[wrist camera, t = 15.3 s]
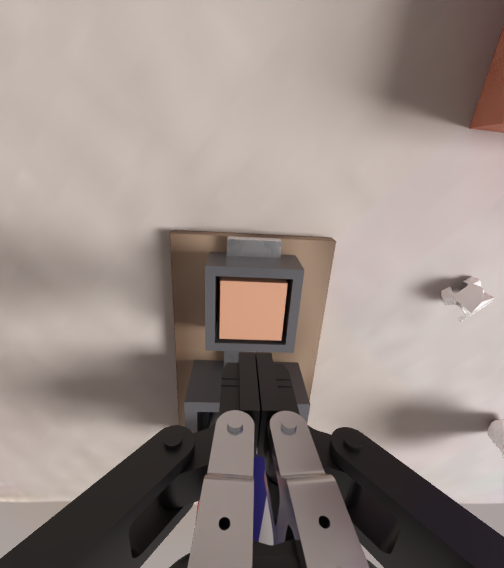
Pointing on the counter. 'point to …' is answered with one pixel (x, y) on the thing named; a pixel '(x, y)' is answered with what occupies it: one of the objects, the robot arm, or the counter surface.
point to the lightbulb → (497, 434)
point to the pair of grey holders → (209, 372)
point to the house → (492, 95)
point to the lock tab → (252, 308)
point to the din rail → (250, 249)
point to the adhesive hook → (467, 297)
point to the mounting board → (191, 300)
